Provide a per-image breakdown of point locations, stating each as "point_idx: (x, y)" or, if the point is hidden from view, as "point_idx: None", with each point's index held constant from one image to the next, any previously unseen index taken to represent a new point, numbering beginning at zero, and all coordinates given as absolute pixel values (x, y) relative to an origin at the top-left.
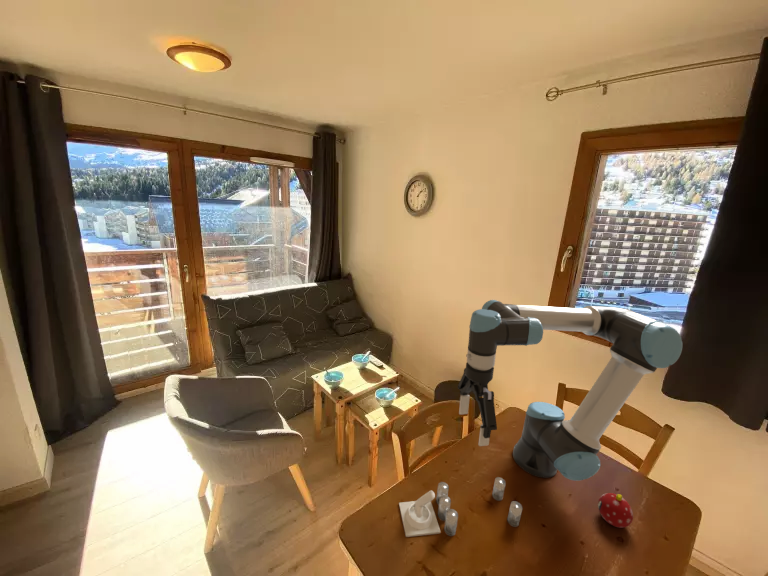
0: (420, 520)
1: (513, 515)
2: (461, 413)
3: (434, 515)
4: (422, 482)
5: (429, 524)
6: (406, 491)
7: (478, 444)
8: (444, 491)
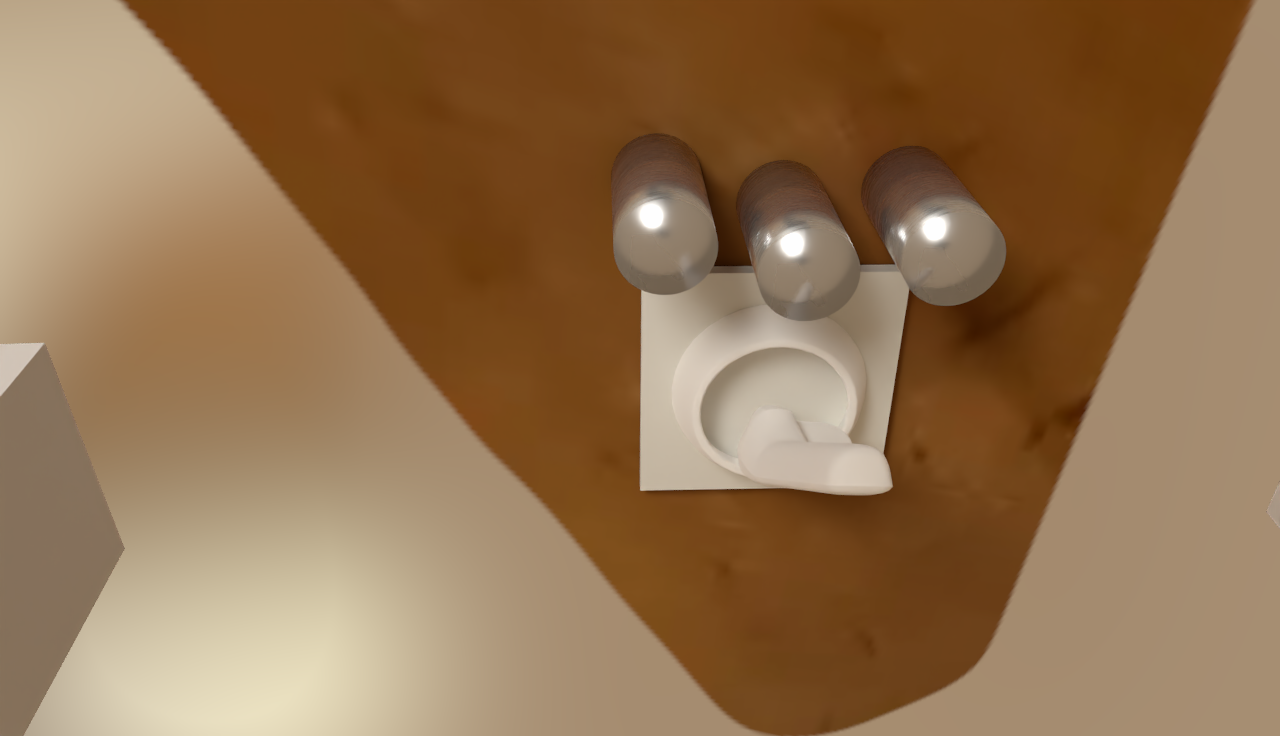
0: (800, 385)
1: None
2: (96, 534)
3: None
4: (454, 281)
5: (850, 339)
6: (537, 416)
7: (1275, 514)
8: (716, 250)
